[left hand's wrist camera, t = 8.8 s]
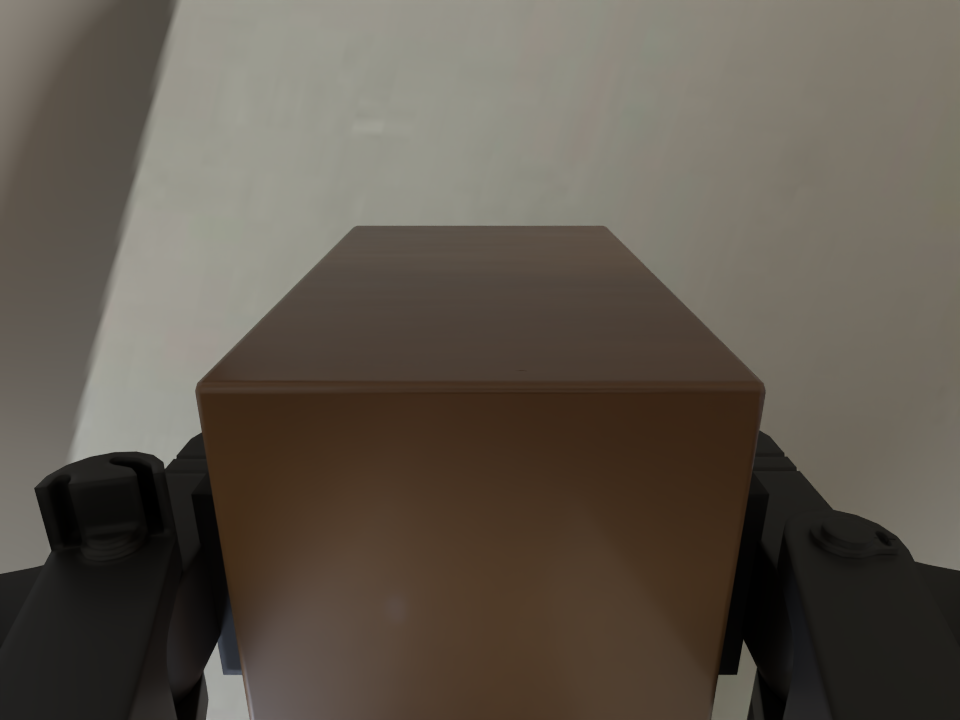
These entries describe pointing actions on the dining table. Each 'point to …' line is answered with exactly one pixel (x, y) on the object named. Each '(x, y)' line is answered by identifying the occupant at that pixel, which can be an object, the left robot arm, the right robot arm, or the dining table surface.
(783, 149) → the dining table surface
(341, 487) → the bar
